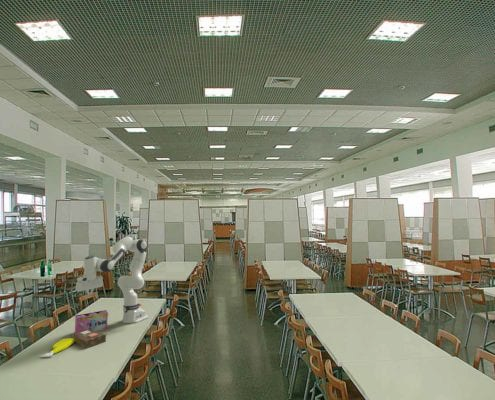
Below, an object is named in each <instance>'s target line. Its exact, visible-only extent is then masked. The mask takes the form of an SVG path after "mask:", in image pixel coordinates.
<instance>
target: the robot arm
mask: <svg viewBox="0 0 495 400" xmlns="http://www.w3.org/2000/svg"><path fill="white" fill-rule="evenodd" d="M147 248H148V242H147V241H146V239H143V238H140V239H133V237H131V236H128V235H127V236H125V237H123V238H121V239H120V240H118V241H117V242H116V243H114V245H113V247H112V250H113V253H114V254H113V255H112V256H111V257H110V258H105V259H103V258H100V257H99V258H98V257H96V256H95V255H89V256H86V257H85V258H84V261H83V275H81V276H79V277H77V278H76V283H75V291H76V292H78V293H79V292H84V291H85V292H86V294H87V296H92V295H93V292H94V290H95V289H98V288H102V287H104V281H103V276H102V275H101V274H100V275H97V272H103V273H110V272H112V271H113V270H114V268H115V266H116V265H117V264H118V263H119V261H120V260H122V258H124V255H125V254H126V252H129V253H134V254H133V257H132V259H131V263H130V264H129V270H130V272H131V275H121V276H120V277H119V278H118V279H117V282H116V283H117V286H118V287H119V288H120V290H121V292H122V295H123V304H122V305H123V306H122V307H123V309H122V310H123V313H122V319H121V323H123V324H131V323H132V324H133V323H134V324H136V323H140V322H141V321H144V320H146V319H147V318H149V315H147V314H146V311H145V310H144V309H142V307H141V306H142V303H138V293H136V292H135V290H138V289H142V288H143V287H144V285H145V280H144V277H143V276H142V275H143V273H142V272H143V268H144V265H145V261H146V259H147V252H146V251H147ZM89 291H90V292H89Z"/></svg>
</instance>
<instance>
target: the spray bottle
mask: <svg viewBox="0 0 495 400" xmlns="http://www.w3.org/2000/svg"><path fill="white" fill-rule="evenodd" d="M74 342H75V339H74V338H72V337H71V338H70V337H69V338H68V337H67V338H63V339H60V340H59V341H57V342H56V343H54V344H53V345H52V350H50V352H45V354H42V355H39V357H40V358H51V357H53V355H54V354H57V353H59V352H61V351H64V350H66V349H68V348H69V347H70V346H72V345H73V344H75V343H74Z"/></svg>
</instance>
